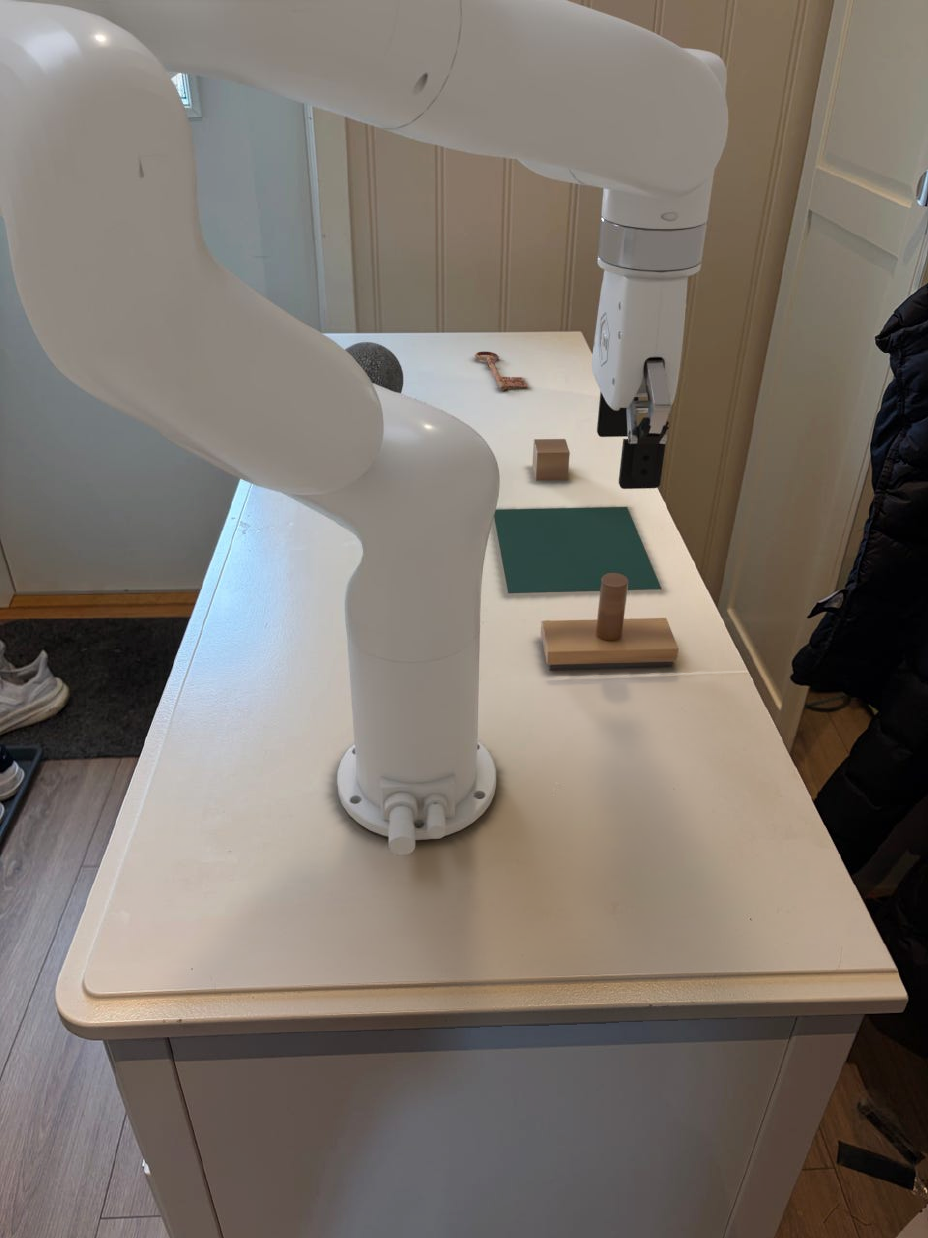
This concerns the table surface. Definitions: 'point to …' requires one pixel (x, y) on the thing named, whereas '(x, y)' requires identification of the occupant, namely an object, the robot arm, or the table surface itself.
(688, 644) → the table surface
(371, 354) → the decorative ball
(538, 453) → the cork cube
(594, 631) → the brush
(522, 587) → the mat
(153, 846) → the table surface
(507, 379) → the key
